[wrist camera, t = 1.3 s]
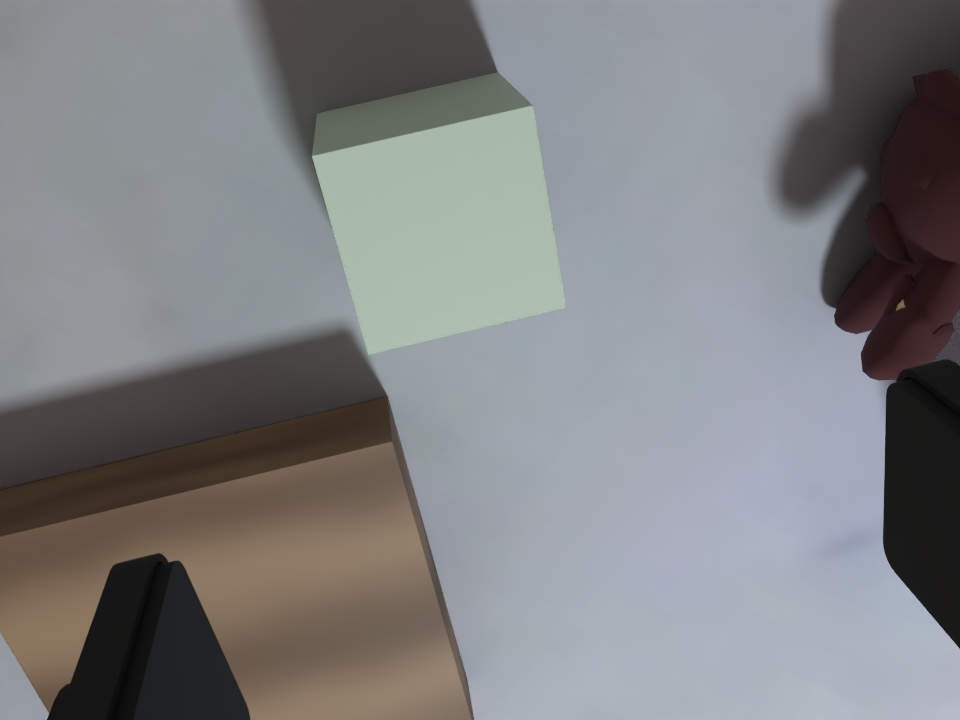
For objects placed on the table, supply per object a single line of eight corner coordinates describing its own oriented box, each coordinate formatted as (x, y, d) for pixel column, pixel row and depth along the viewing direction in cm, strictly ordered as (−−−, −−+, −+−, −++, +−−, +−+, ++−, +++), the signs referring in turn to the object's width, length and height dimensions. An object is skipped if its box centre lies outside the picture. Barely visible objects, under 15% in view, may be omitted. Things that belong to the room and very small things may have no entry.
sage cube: (316, 112, 26) (311, 156, 21) (497, 71, 27) (532, 105, 22) (363, 281, 29) (368, 354, 24) (528, 242, 29) (565, 307, 24)
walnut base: (-16, 493, 30) (-50, 548, 27) (387, 396, 31) (392, 441, 28) (136, 765, 37) (120, 832, 34) (467, 681, 37) (477, 740, 34)
